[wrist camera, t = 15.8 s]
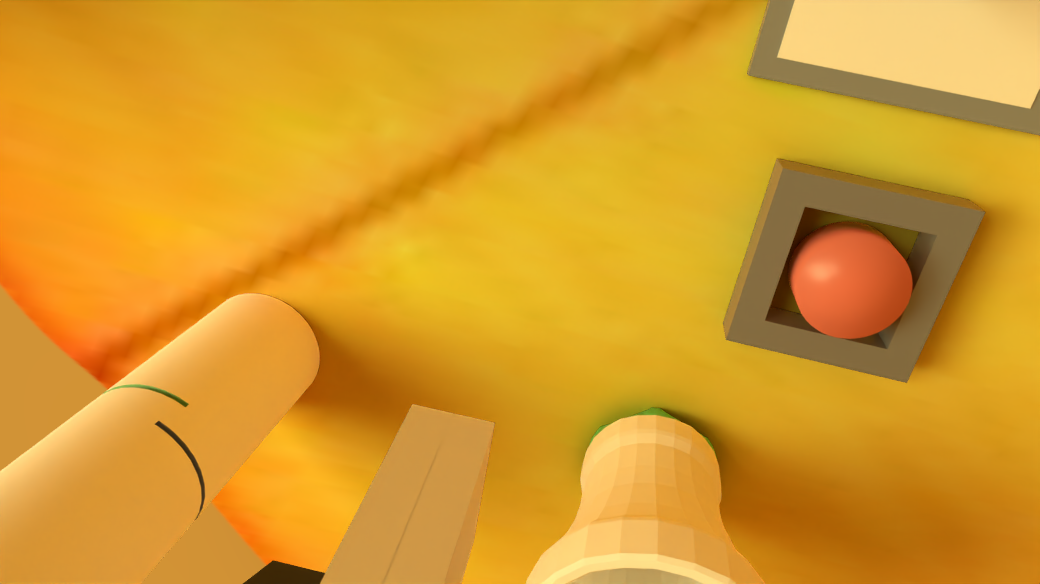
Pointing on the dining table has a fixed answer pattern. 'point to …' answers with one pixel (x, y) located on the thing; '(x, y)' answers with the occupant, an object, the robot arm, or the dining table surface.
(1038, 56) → the clipboard
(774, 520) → the dining table surface
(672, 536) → the cup
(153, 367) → the cylindrical container
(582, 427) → the dining table surface
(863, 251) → the button
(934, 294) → the button housing
